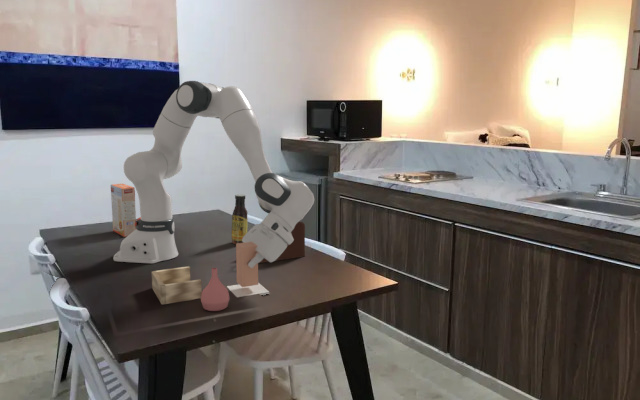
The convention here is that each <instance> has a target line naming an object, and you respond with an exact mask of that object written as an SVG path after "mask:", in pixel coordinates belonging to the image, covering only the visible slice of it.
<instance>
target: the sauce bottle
mask: <svg viewBox="0 0 640 400" xmlns="http://www.w3.org/2000/svg"><path fill="white" fill-rule="evenodd" d="M234 199H235V206H234V209H233V210H232V215H231V243H232V244H234V245H236V244H237V243H244V242H242V239H243V237H244V236H245V235H246V234H247V232H248V221H249V219H248V210H247V208H246V202H245V201H246V195H245V194H241V193H239V194H235V195H234Z"/></svg>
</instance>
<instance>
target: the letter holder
mask: <svg viewBox="0 0 640 400" xmlns="http://www.w3.org/2000/svg"><path fill="white" fill-rule="evenodd" d="M291 234H292V237H293V239H294V241H293V242H292V243H291V244H290V245H288V244H287V247H286V249H285V250H284V251H283V253H282V254H281V255H280V256H279V257H278V258H277V259H276V260H275V261H274V262H276V261H283V260H284V259H285V260H289V259H290V260H291V259H296V258H302V257H303V256H304V257H305V256H306V248H305V246H306V224H305V223H304V222H303V221H299V222H298V223H297V224H296V225H295V227H294V229H293V230H292V232H291ZM285 260H284V261H285ZM265 262H266V263H270V262H269V261H268V260H266V259H265V258H263V260H262V261H260V262H259V263H260V264H265ZM259 263H258V265H259Z"/></svg>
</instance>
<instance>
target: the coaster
mask: <svg viewBox="0 0 640 400" xmlns="http://www.w3.org/2000/svg"><path fill="white" fill-rule="evenodd" d="M225 287H226V288H227V289H228V291H230V292H231V293H232V294H233V295H234V296H235V297H236V298H241V297H248V296H253V295H258V294H259V295H260V296H261V295H263V296H267V295H266V294H269V295H270V291H269V290H268V289H266V288H265V287H264V286H263V285H262V284H261V283H260V282H258V285H253V286H246V287H242V286H241V285H239V284H238V283H237V284H233V285H227V286H225Z"/></svg>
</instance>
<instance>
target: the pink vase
mask: <svg viewBox="0 0 640 400" xmlns="http://www.w3.org/2000/svg"><path fill="white" fill-rule="evenodd" d="M200 301H201V305H202V308H203V309H204V310H205V311H210V312H220V311H222V310H225V309H227V308H228V305H229V302H230V293H229V289H228V288H227V287H226V286H225V285H224V284H223V283H222V282H221V280H220V278H219V276H218V268H217V267H212V268H211V278H210V279H209V282H208V284H207V285H206V286H205V287H204V288H203V290H202V294H201V298H200Z"/></svg>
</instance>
